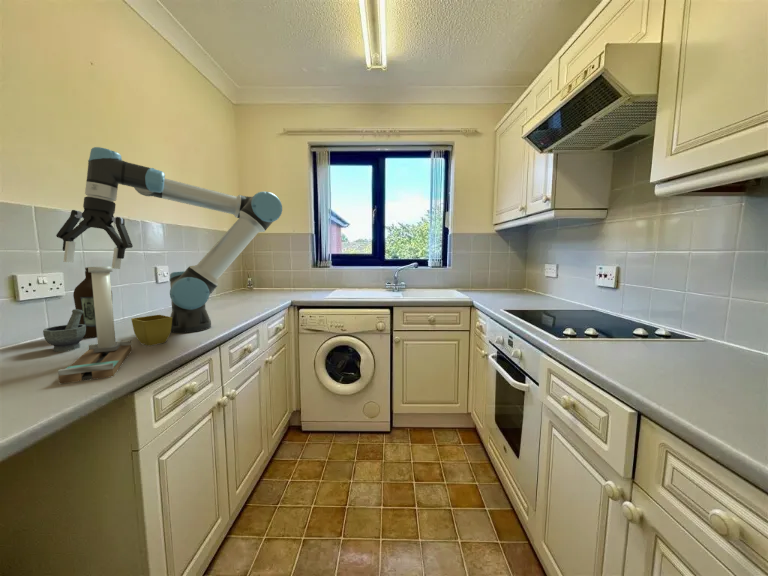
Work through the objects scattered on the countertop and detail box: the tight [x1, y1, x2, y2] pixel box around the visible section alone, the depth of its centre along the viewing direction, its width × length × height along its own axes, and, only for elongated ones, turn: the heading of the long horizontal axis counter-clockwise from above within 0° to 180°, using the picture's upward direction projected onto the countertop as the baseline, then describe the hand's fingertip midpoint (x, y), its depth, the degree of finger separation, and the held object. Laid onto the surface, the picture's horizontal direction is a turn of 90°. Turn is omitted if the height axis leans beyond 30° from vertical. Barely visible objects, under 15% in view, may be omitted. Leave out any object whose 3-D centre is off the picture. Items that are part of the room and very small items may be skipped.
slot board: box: [57, 340, 133, 385], centre depth 89 cm, size 10×24×3 cm, turn 29°
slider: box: [87, 265, 120, 353], centre depth 94 cm, size 5×5×24 cm
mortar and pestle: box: [42, 308, 86, 352], centre depth 103 cm, size 11×9×12 cm
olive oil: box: [72, 266, 113, 339], centre depth 118 cm, size 11×11×25 cm
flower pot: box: [131, 314, 172, 347], centre depth 109 cm, size 9×9×9 cm
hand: (92, 265), depth 102 cm, fingers open, 13 cm apart
